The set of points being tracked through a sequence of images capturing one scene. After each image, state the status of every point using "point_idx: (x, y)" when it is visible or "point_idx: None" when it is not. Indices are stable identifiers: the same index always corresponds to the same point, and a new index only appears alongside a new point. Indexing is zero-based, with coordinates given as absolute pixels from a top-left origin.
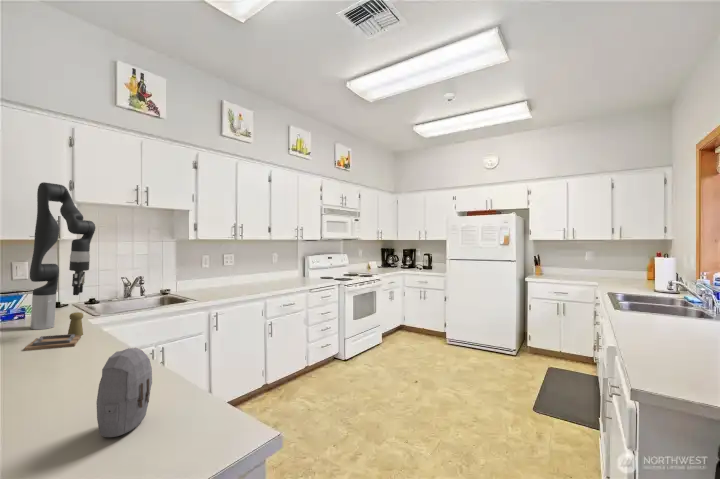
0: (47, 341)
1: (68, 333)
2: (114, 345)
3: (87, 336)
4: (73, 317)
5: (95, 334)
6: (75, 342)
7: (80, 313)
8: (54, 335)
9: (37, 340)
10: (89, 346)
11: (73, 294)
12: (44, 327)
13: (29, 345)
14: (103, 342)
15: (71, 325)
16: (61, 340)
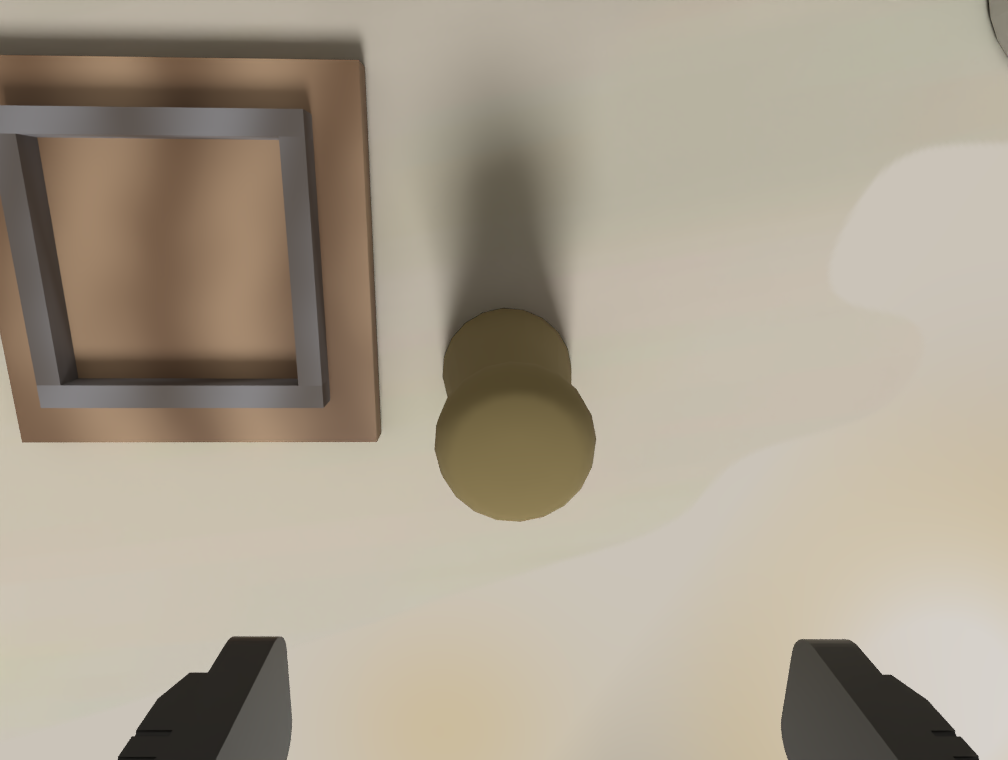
0: (31, 226)
1: (475, 326)
2: (5, 695)
3: (416, 476)
4: (439, 418)
5: (478, 527)
6: (77, 441)
7: (480, 507)
8: (308, 234)
9: (103, 120)
10: (14, 539)
11: (227, 649)
12: (1003, 5)
13: (37, 73)
14: (132, 617)
15: (463, 370)
16: (46, 341)
